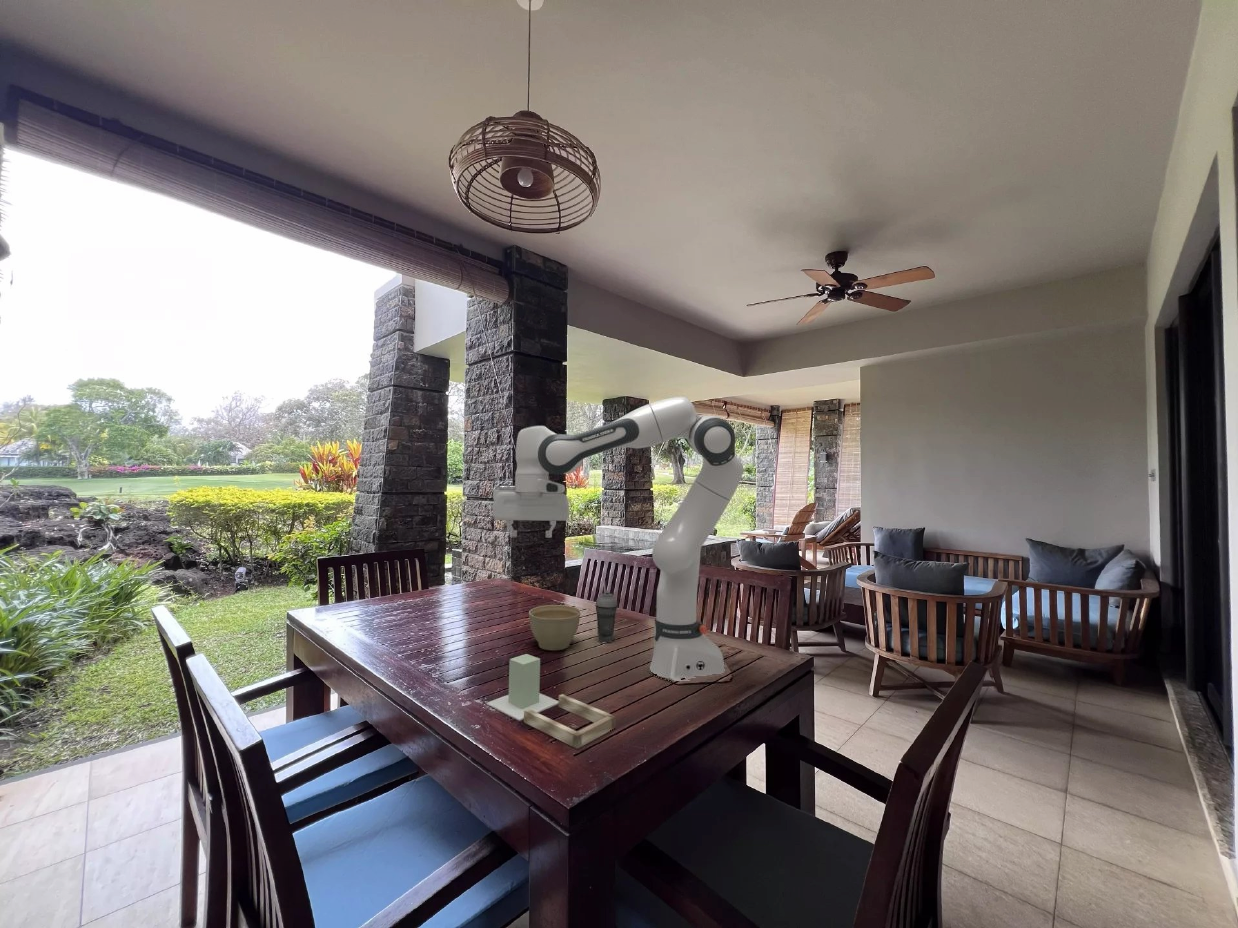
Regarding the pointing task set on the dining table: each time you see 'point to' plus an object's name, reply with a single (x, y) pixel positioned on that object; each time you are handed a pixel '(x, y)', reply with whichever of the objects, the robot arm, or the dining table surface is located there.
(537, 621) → the planter bowl
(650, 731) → the dining table surface
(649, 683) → the dining table surface
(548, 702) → the mat
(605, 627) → the beverage cup
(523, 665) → the block
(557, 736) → the lane
